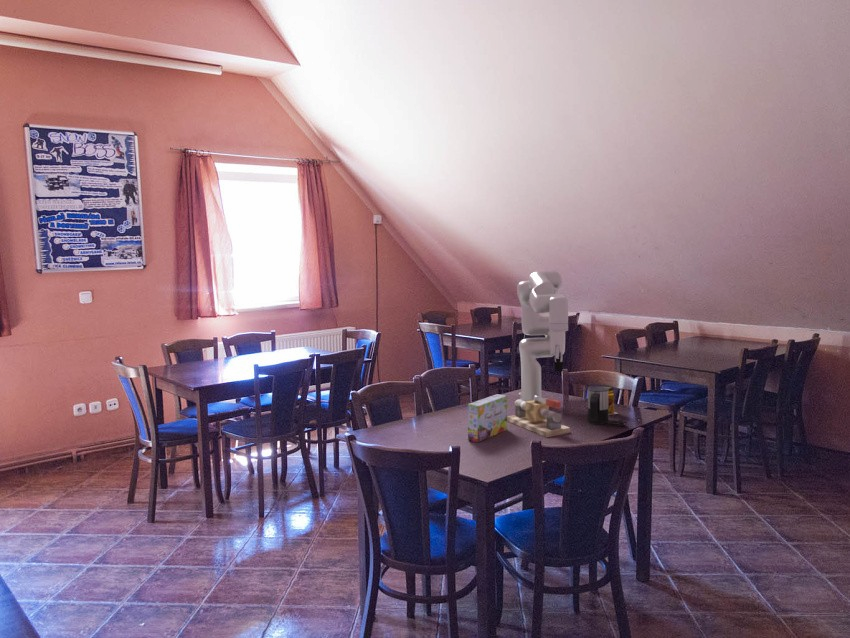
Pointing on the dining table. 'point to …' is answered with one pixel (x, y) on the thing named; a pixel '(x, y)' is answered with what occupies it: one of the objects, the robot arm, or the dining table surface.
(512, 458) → the dining table surface
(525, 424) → the valve stand
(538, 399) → the valve lever
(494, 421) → the snack box
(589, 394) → the milk frother
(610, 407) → the condiment
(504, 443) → the dining table surface
